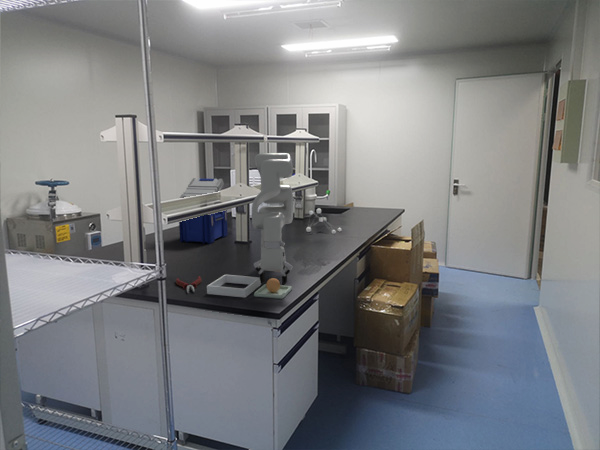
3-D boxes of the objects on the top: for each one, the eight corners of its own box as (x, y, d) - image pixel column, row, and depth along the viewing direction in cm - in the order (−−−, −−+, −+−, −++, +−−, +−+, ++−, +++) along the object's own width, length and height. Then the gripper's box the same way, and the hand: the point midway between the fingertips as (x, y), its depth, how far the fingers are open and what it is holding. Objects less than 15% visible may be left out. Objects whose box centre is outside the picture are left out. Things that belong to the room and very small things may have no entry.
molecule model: (307, 232, 332) (310, 208, 333) (341, 235, 327) (343, 210, 328) (303, 231, 318) (306, 206, 319) (339, 234, 313) (341, 208, 314)
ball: (269, 289, 197) (268, 276, 195) (282, 290, 195) (282, 277, 194) (264, 293, 191) (263, 280, 190) (277, 294, 189) (277, 281, 188)
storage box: (209, 244, 285) (207, 181, 278) (177, 243, 291) (173, 180, 284) (228, 235, 313) (227, 178, 306) (198, 234, 319) (196, 177, 311)
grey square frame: (225, 281, 209) (225, 274, 208) (260, 284, 204) (260, 277, 203) (207, 293, 192) (206, 285, 192) (245, 297, 187) (245, 289, 187)
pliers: (177, 296, 190) (176, 290, 190) (175, 282, 209) (175, 277, 209) (204, 293, 194) (204, 288, 193) (201, 280, 213) (200, 275, 212)
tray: (264, 287, 201) (264, 283, 200) (291, 289, 197) (291, 286, 197) (254, 296, 189) (254, 292, 189) (282, 299, 185) (282, 295, 185)
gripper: (295, 243, 190) (295, 282, 194) (256, 241, 195) (257, 279, 198) (289, 247, 183) (289, 287, 186) (250, 245, 188) (251, 284, 191)
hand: (273, 283), depth 192 cm, fingers open, 9 cm apart
